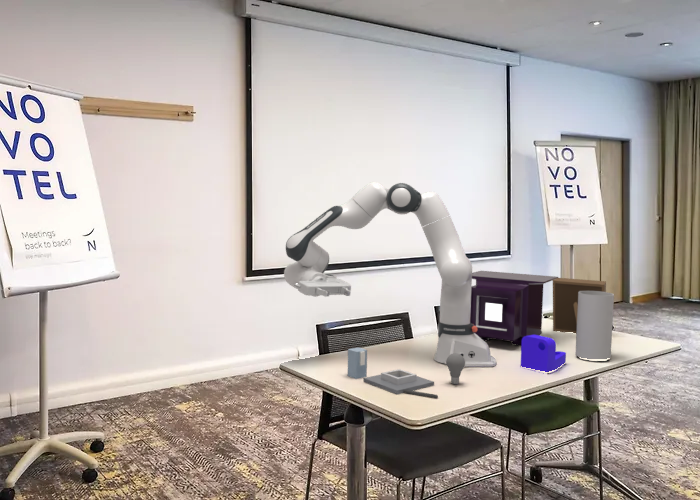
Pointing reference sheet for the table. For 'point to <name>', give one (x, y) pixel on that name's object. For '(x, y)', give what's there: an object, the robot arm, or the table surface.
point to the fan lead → (420, 393)
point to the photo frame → (570, 301)
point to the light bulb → (455, 366)
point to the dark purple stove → (507, 305)
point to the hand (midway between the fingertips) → (338, 294)
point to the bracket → (541, 353)
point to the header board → (398, 381)
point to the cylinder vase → (594, 324)
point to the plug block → (357, 363)
